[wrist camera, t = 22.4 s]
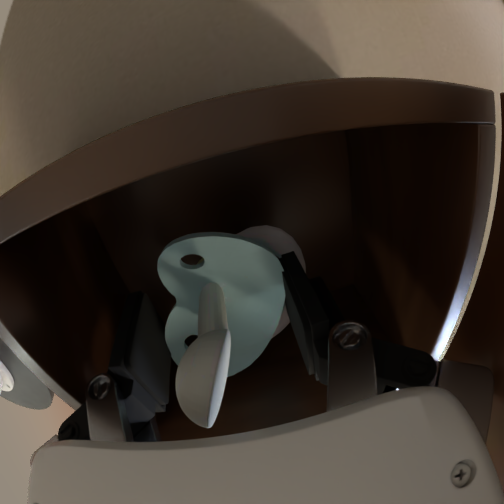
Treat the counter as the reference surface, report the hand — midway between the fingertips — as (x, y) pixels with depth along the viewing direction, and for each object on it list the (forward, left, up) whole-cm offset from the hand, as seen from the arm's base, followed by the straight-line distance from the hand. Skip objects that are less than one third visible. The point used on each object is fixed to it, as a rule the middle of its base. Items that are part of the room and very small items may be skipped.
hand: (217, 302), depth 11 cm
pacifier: (+1, 0, -1) cm, 1 cm away
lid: (+7, +1, +13) cm, 14 cm away
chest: (+1, +1, -4) cm, 5 cm away
